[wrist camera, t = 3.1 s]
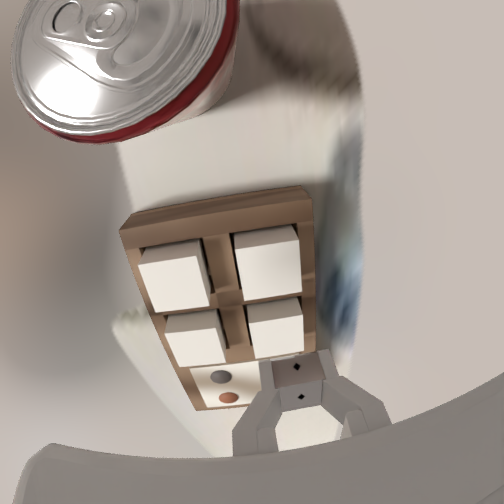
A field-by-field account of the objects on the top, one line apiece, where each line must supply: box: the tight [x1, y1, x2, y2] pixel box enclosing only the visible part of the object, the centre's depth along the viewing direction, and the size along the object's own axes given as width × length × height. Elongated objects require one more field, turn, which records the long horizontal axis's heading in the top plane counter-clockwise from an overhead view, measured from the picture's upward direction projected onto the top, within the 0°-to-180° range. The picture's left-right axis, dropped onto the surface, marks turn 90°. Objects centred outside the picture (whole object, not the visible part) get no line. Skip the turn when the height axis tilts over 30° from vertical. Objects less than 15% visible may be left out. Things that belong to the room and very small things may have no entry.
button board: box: [119, 186, 316, 411], centre depth 23 cm, size 20×12×3 cm, turn 8°
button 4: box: [234, 224, 302, 301], centre depth 18 cm, size 4×4×2 cm
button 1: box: [164, 308, 226, 367], centre depth 21 cm, size 4×4×2 cm
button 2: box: [138, 238, 211, 312], centre depth 18 cm, size 4×4×2 cm
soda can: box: [11, 0, 240, 145], centre depth 10 cm, size 7×7×12 cm
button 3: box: [247, 296, 304, 359], centre depth 21 cm, size 4×4×2 cm
